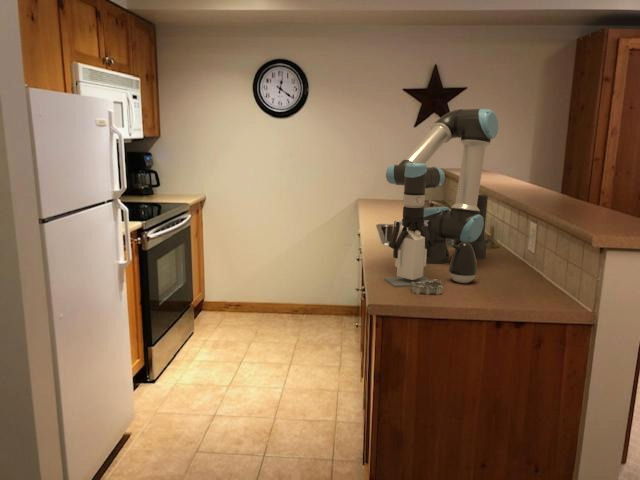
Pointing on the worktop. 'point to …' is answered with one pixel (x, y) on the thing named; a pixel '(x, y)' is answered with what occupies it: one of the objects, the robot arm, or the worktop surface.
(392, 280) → the mat
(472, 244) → the flashlight
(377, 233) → the worktop surface
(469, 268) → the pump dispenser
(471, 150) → the robot arm
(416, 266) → the milk carton
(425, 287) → the egg carton
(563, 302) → the worktop surface
